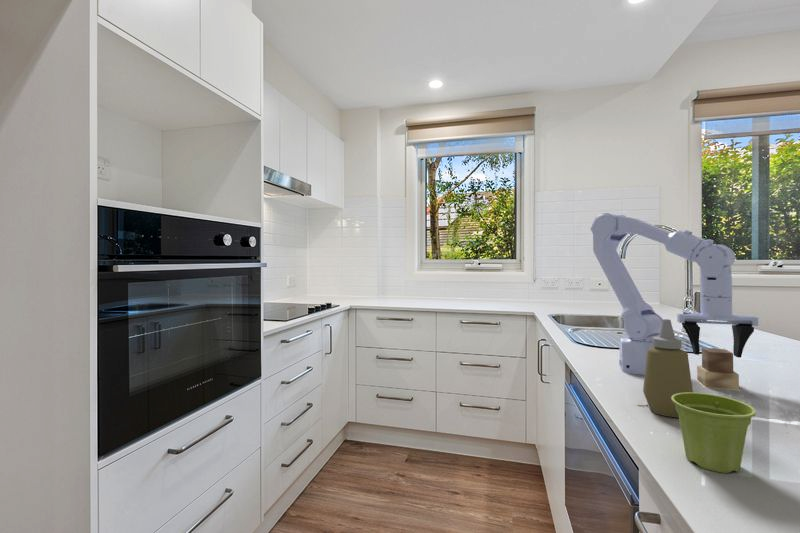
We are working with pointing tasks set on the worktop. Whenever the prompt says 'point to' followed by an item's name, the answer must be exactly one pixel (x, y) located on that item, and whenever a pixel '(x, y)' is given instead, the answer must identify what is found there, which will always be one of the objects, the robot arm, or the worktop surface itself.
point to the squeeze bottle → (666, 372)
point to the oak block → (718, 379)
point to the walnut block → (717, 360)
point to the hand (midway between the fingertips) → (716, 355)
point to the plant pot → (713, 429)
